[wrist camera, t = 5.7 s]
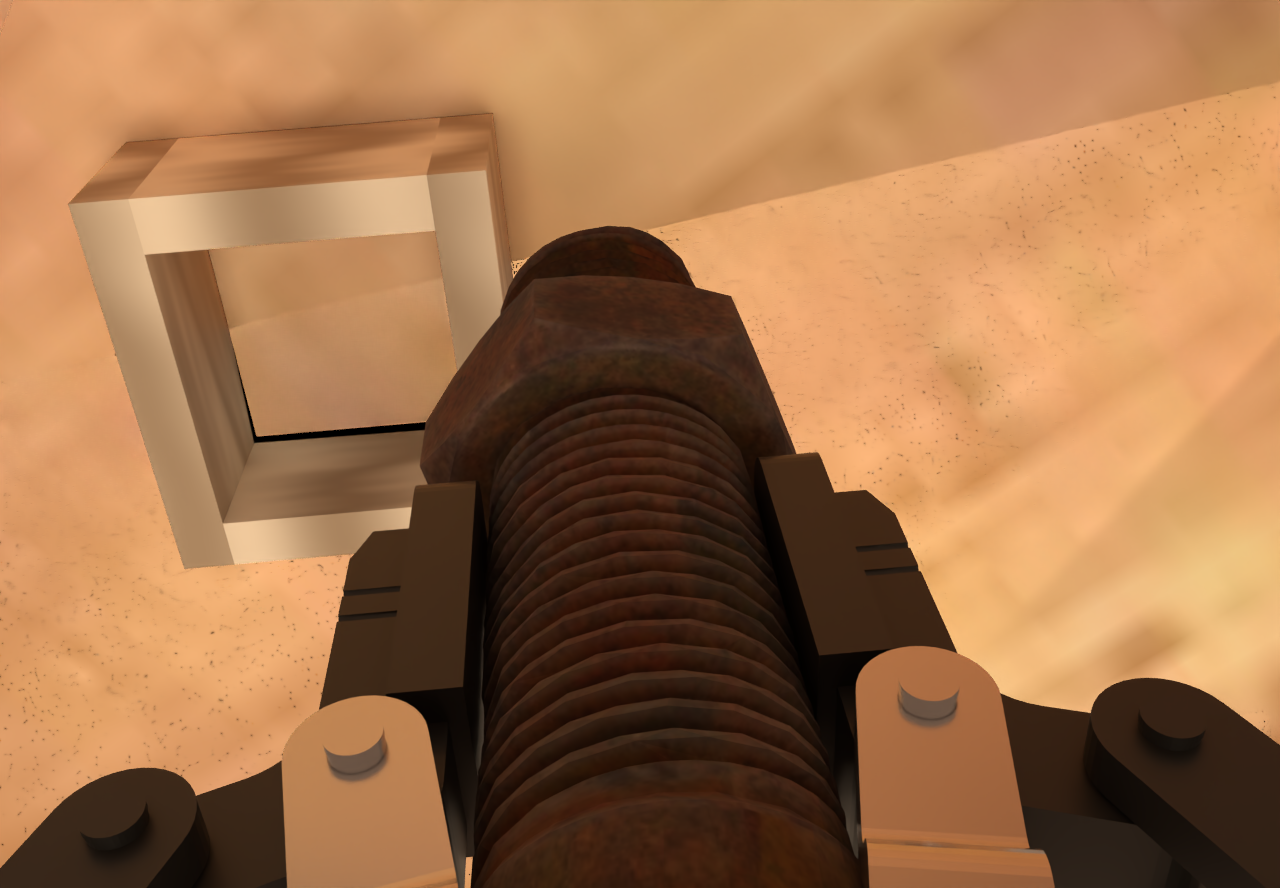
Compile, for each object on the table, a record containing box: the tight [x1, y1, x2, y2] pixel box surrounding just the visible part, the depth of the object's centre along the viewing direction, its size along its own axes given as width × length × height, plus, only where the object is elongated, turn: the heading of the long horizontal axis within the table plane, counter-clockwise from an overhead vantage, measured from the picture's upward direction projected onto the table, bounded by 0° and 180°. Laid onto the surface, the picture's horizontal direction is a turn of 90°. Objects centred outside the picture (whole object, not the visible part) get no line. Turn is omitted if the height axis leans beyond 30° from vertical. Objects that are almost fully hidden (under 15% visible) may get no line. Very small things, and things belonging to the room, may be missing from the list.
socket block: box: [68, 113, 513, 569], centre depth 36 cm, size 10×12×5 cm
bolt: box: [420, 226, 862, 888], centre depth 13 cm, size 6×5×15 cm
